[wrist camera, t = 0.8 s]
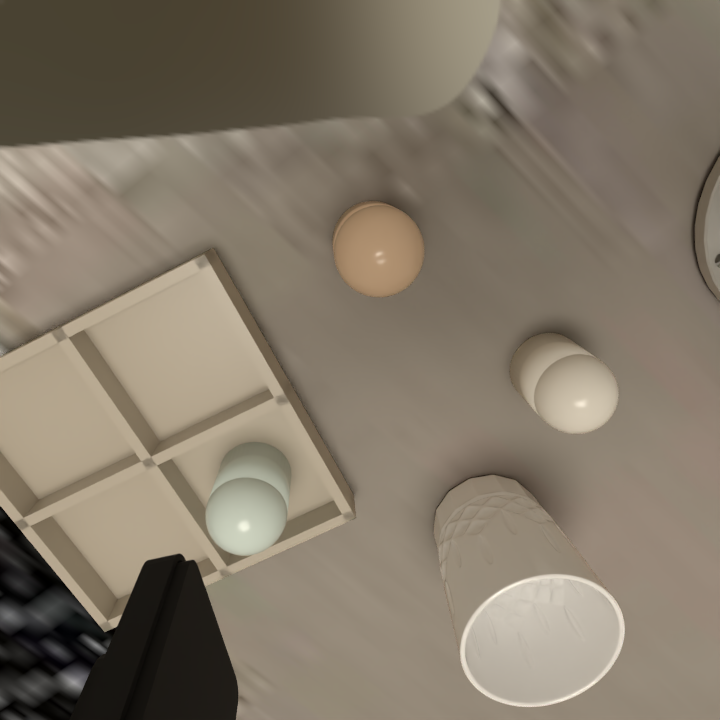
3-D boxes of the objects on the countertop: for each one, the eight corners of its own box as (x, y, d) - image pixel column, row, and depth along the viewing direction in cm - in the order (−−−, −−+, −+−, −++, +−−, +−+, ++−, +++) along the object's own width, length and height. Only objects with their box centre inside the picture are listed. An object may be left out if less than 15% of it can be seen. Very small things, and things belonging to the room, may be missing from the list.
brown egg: (391, 186, 29) (408, 190, 23) (423, 259, 31) (447, 280, 25) (318, 223, 30) (317, 235, 24) (353, 294, 31) (360, 322, 25)
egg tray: (213, 247, 30) (204, 254, 27) (353, 495, 35) (356, 517, 33) (-56, 384, 31) (-86, 401, 29) (118, 603, 36) (104, 632, 34)
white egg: (567, 320, 32) (620, 353, 26) (589, 382, 33) (645, 426, 28) (499, 352, 32) (537, 391, 27) (524, 412, 34) (565, 461, 28)
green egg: (270, 430, 32) (258, 486, 27) (304, 487, 34) (300, 552, 28) (205, 460, 33) (180, 522, 27) (242, 515, 34) (225, 586, 28)
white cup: (431, 463, 34) (472, 573, 25) (556, 467, 35) (642, 576, 26) (417, 570, 37) (450, 707, 27) (534, 572, 38) (606, 707, 28)
